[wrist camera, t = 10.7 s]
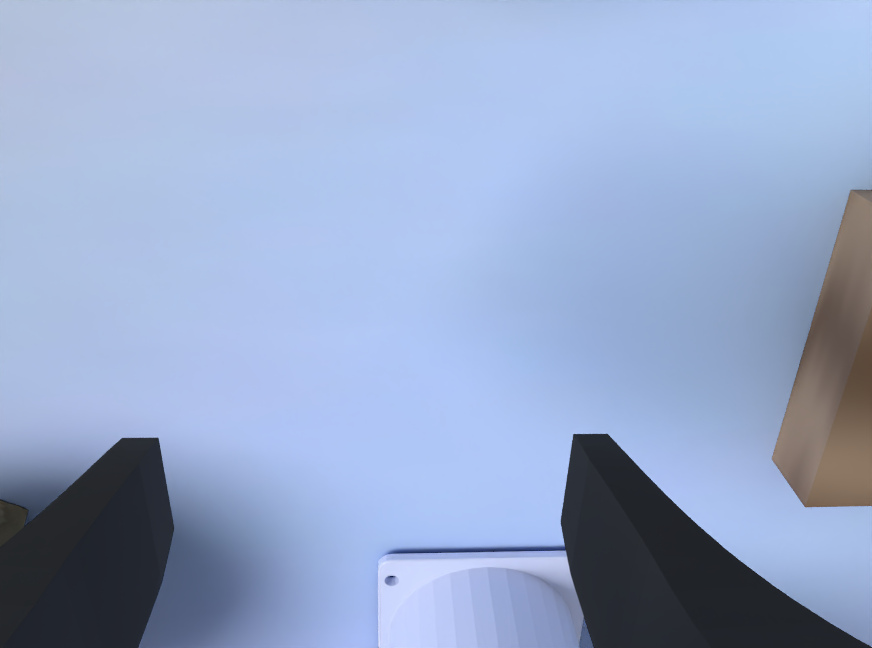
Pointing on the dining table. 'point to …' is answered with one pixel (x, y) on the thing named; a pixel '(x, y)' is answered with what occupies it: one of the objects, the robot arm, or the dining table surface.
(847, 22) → the dining table surface
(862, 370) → the walnut block
